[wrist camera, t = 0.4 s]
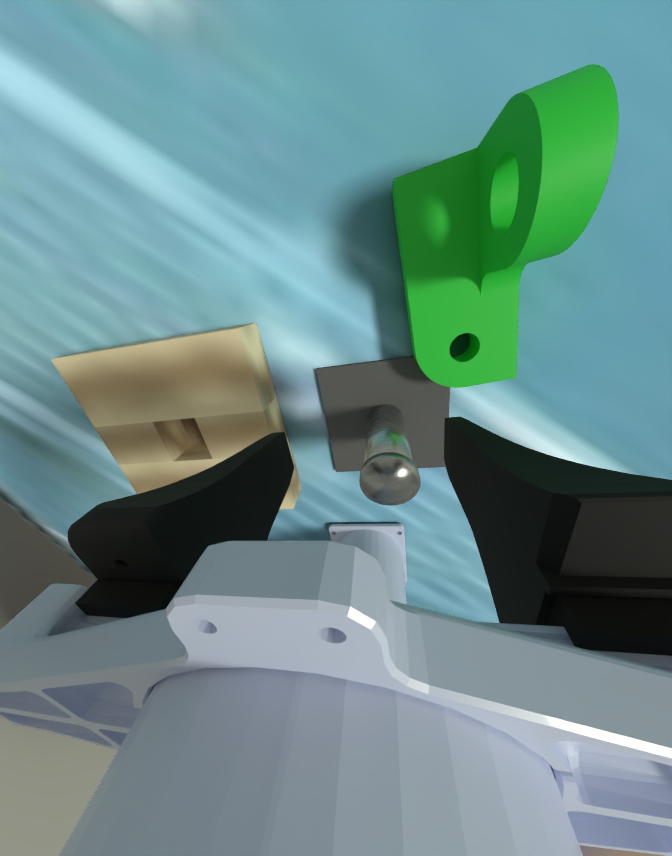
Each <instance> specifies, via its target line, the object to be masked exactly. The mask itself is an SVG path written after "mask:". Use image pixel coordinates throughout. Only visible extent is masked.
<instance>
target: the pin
mask: <svg viewBox="0 0 672 856" xmlns="http://www.w3.org/2000/svg"><path fill="white" fill-rule="evenodd" d="M360 487H361V490H362V491H363V493H364V494H365V495H366V496H367V497H368V498H369V499H370V500H372V501H374V502H376V503H379V504H382V505H399V504H402V503H405V502H407V501H409V500H410V499H412V498H413V497H414V496H415V495H416V494H417V492H418V490H419V488H420V476H419V472H418V468H417V466H416V465H415V463H414V462H413V460H412V456H411V451H410V446H409V441H408V436H407V432H406V427H405V422H404V417H403V414H402V412H401V411H400V410H399V409H398V408H397V407H395V406H393V405H389V404H383V405H379V406H376V407H375V408H373V409H372V410H371V411H370V413H369V415H368V418H367V431H366V445H365V460H364V464H363V466H362V468H361V471H360Z"/></svg>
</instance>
